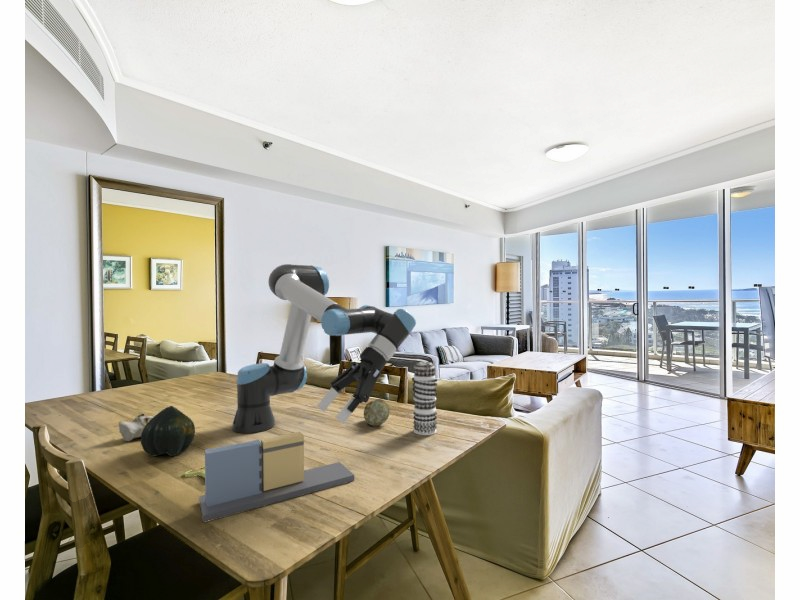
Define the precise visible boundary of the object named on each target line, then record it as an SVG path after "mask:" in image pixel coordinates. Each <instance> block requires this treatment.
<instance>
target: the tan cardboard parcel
mask: <svg viewBox="0 0 800 600" xmlns="http://www.w3.org/2000/svg"><path fill="white" fill-rule="evenodd" d="M304 439H305V435H304V434H303V433H302V432H301V431H296V432H292V433H287V434H281V435H280V434H279V435H276V436H271V437H270V436H269V437H266V438H260V442H261V446H262V453H261V458H262V466H261V470H262V489H263V490H264V491H266V490H270V489H274V488H278V487H281V486H285V485H289V484H293V483H297V482H301V481H304V470H305V446H304V445H305V444H304V443H305V440H304Z"/></svg>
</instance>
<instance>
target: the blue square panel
mask: <svg viewBox="0 0 800 600" xmlns="http://www.w3.org/2000/svg"><path fill="white" fill-rule="evenodd" d="M261 453H262V446H261V440H259V439H256V440H250V441H244V442H239V443H233V444H229V445H224V446H218V447H212V448H209V449H204V466H205V478H204V487H205V489H204V492H205V493H204V495H205V502H206V506H207V507H209V506H213V505H217V504H221V503H225V502H229V501H232V500H236V499H240V498H244V497H248V496H252V495H255V494H259V493H262V470H261V466H262V458H261Z"/></svg>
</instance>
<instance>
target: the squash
mask: <svg viewBox="0 0 800 600" xmlns="http://www.w3.org/2000/svg"><path fill="white" fill-rule="evenodd" d="M152 417H153V418H152V419H151V420H150V421H149V422H148V423H147V424H146V426H145V427H144V429H143V431H142V434H141V438H140V444H141V447H142V449H143V451H144V452H145V453H146V454H148V455H149V456H153V455H157V456H160V455H166V454H167V455H169V457H175V456H177V455H179V452H180V453H184V452H185V451H187V450H188V449H189V448H190V447H191V444H193V441H194V438H195V435H196V432H195V431H196V428H195V427H196V426H195V423H194V422H193V420H192V419H191V418H190V417H189V416H188V415H187V414H185V413H183V412H182V411H181V410H179V409H178V408H176V407H175V406H173V405H170V406H166V407H165V408H164V409H162V410H161V411H159V412H158V413H157V414H155V415H154V416H152Z"/></svg>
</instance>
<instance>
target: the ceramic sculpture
mask: <svg viewBox="0 0 800 600" xmlns="http://www.w3.org/2000/svg"><path fill="white" fill-rule="evenodd" d="M153 417H154V416H152V415H148V416H146V415H145V414H144V413H141V414H138V415H137V416H135V418H134V419H133V420H132V421H119V422H118V429H119V433H120V435H121V437H122V439H123V441H125V442H131V441H132V440H133V439H135V438H139V437H141V434H142V431H143V429H144V427H145V426H146V424H147V423H148V422H149V421H150V420H151V419H152V418H153Z"/></svg>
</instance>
